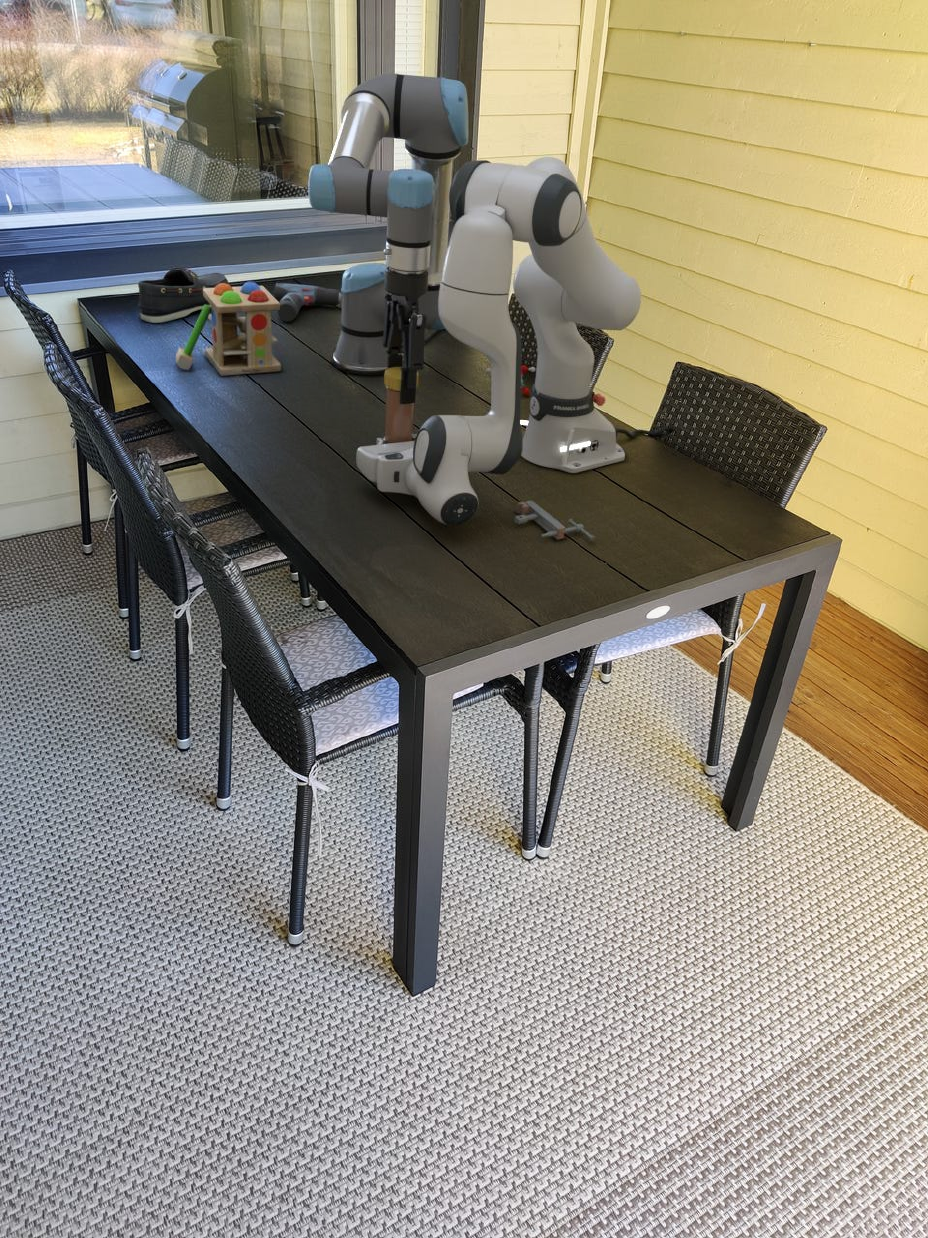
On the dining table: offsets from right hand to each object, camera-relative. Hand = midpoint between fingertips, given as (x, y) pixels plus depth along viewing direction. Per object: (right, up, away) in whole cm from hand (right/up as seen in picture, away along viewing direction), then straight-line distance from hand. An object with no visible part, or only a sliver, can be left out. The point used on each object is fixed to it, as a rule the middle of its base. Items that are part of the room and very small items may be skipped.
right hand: (396, 439), depth 188 cm
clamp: (+28, -18, -11) cm, 35 cm away
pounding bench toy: (-43, +25, +43) cm, 66 cm away
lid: (+1, +10, -8) cm, 13 cm away
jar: (0, -6, +3) cm, 7 cm away
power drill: (-30, +49, +79) cm, 98 cm away
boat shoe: (-61, +49, +75) cm, 109 cm away
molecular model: (+23, +18, +41) cm, 50 cm away
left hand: (+1, +7, -6) cm, 9 cm away
